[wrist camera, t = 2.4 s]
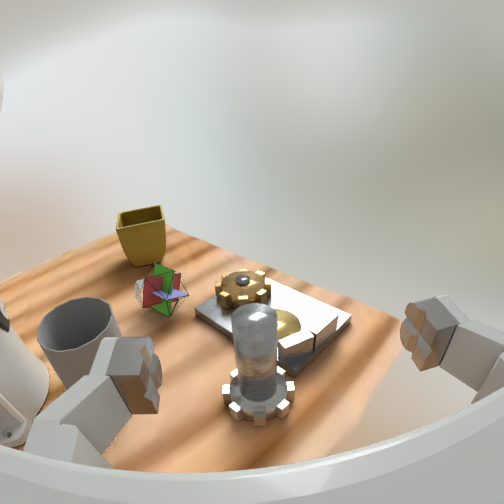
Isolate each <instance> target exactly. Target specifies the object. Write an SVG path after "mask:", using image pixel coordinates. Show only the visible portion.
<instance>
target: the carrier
mask: <svg viewBox="0 0 504 504" xmlns="http://www.w3.org/2000/svg"><path fill="white" fill-rule="evenodd" d="M265 279H268V278H266V277H265ZM265 305H268V306H270V307H272V308H273V309H274V310H275V311H276V313H277V366H278V367H280V368H282V369H283V370H285V371H286V372H285V373H287V374H288V375H290V376H292V377H293V378H295V377H296V376H297V375H298V374H300V373H301V372H302V371H303V370H304V369H305V368H306V367H307V366H308V365H309V364H310V363H311V362H312V361H313V360H314V359H315V358H316V357H317V356H318V355H319V354H320V353H321V352H322V351H323V350H324V349H325V348H326V347H327V346H328V345H329V344H330V343H331V342H332V341H333V340H334V339H335V338H336V337H337V336H338V334H339V333H340V332H341V331H342V330H343V329H344V328H345V327H346V326H347V325H348V324H349V323H350V320H351V314H348V313H346V312H344V311H341V310H339V309H337V308H334V307H332V306H330V305H328V304H325V303H323V302H321V301H318V300H316V299H314V298H311V297H309V296H307V295H304V294H302V293H300V292H298V291H295V290H293V289H291V288H288V287H286V286H284V285H282V284H279V283H277V282H275V281H273V280H271V296H267V304H265ZM236 309H237V308H234V307H229V308H228V309H226V308H224V307H222V306H221V303H220V298H219V299H217V297H216V296H214V297H213V298H211V299H209V300H208V301H206V302H204V303H202V304H201V305H199V306H197V307H195V313H196V315H197V316H198V317H200V318H201V319H203V320H204V321H205V322H207V323H208V324H210V325H211V326H213V327H214V328H216V329H217V330H219V331H220V332H222V333H223V334H225V335H226V336H228V337H229V338H231V339H232V340H233V333H232V324H231V315H232V313H233V312H234V311H235V310H236Z"/></svg>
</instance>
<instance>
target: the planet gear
mask: <svg viewBox="0 0 504 504" xmlns="http://www.w3.org/2000/svg"><path fill="white" fill-rule="evenodd" d="M231 324H232V333H233V341H234V349H235V357H236V365H237V369H235V370H234V371H233V372H231V373H230V378H231V383H230V385H223V398H224V403H225V404H230V405H229V410H230V415H231V416H232V417H233V418H234V419H236V420H237V421H238V422H239V421H240V420H241V419H242V418H245V419H248V420H251V421H254V426H266V420H269V419H272V418H274V417H276V416H277V417H279V418H280V419H283V418H284V417H285V416H286V415H287V414H288V413H289V406H290V402H288V401H290V400H294V383H293V381H292V382H286V380H285V372H286V371H285V370H283V369H282V368H280V367H278V366H277V313H276V311H275V310H274V309H273V308H272V307H270V306H268V305H265V304H260V303H251V304H246V305H243V306H240V307H239V308H237V309H236V310H235V311H234V312H233V313H232V315H231Z"/></svg>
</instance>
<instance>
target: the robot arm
mask: <svg viewBox="0 0 504 504" xmlns="http://www.w3.org/2000/svg"><path fill="white" fill-rule="evenodd" d="M2 100H3V84H2V79H1V76H0V110H1V106H2ZM405 314H406V316H407V318H406V319H405V320H404V321H403V322H402V324H401V328H400V339H401V342H402V344H403V346H404V348H405V349H406V350H408V351H410V352H412V359H413V361H414V363H415V364H416V366H417V367H418V369H419V371H424V370H427V369H430V368H433V367H437V366H440V367H441V368H442V369H444V370H445V371H447V372H448V373H450V374H451V375H453V376H454V377H456V378H458V379H459V380H461V381H462V382H463V383H465V384H466V385H468V386H470V387H471V388H473V389H474V390H475V391H477V392H478V393H477V394H476V396H475V397H474V399H473V400H472V403H471V405H469V406H467V407H465V408H463V409H461V410H459V411H457V412H455V413H453V414H451V415H449V416H446V417H444V418H442V419H440V420H437V421H435V422H433V423H430V424H428V425H425V426H423V427H420V428H418V429H415V430H413V431H410V432H407V433H405V434H402V435H399V436H396V437H393V438H390V439H387V440H384V441H382V442H378V443H375V444H372V445H368V446H365V447H361V448H358V449H354V450H351V451H347V452H343V453H339V454H335V455H331V456H326V457H322V458H317V459H313V460H308V461H302V462H297V463H291V464H285V465H279V466H272V467H265V468H257V469H247V470H237V471H224V472H203V473H160V472H140V471H127V470H117V469H114V468H113V467H112V465H111V464H110V463H109V462H108V461H107V460H106V459H105V458H104V457H103V456H102V453H103V452H104V451H105V450H106V448H107V447H108V446H109V445H110V443H111V442H112V441H113V439H114V438H115V437H116V436H117V434H118V433H119V432H120V430H121V429H122V428H123V427H124V425H125V424H126V423H127V422H128V420H129V419H130V418H131V416H132V415H131V414H158V409H159V401H160V396H159V393H158V391H157V389H158V388H159V387H160V386H161V383H162V369H161V364H160V360H159V357H158V356H157V355H155V354H154V353H153V352H154V343H153V341H152V338H151V337H149V336H147V337H105V338H103V339H102V340H101V343H100V345H99V348H98V351H97V354H96V356H95V359H94V362H93V365H92V368H91V371H90V373H89V375H84V376H83V377H82V378H81V379H80V380H78V381H77V382H76V383H75V384H74V385H73V386H71V387H70V388H69V389H68V390H67V391H65V392H64V393H63V394H62V395H61V396H60V397H58V398H57V399H56V400H55V401H54V402H52V403H51V404H50V405H49V406H48V407H47V408H45V409H44V410H43V411H42V412H41V413H40V414H38V415H37V413H38V412H39V410H40V409H41V407H42V405H43V403H44V401H45V399H46V396H47V393H48V389H49V373H48V370H47V368H46V366H45V364H44V363H43V362H42V361H41V360H40V359H39V358H38V357H37V356H35V355H34V354H33V353H32V351H31V350H30V349H29V348H28V347H27V346H26V345H25V343H24V342H23V341H22V340H21V338H20V337H19V336H18V334H17V333H16V331H15V330H14V328H13V327H12V325H11V324H10V320H9V315H8V313H7V311H6V308H5V306H4V304H3V302H2V300H1V297H0V504H504V332H502V331H499V330H497V329H495V328H492V327H490V326H488V325H485V324H483V323H481V322H478V321H476V320H470V319H469V318H468V317H467V316H466V315H465V314H464V313H463V312H462V310H461V309H460V308H459V307H458V306H457V305H456V304H455V303H454V302H453V301H452V300H451V299H450V298H449V297H448V296H446V295H444V294H443V295H439V296H435V297H432V298H428V299H425V300H420V301H415V302H410V303H409V304H408V305H407V307H406V310H405ZM36 415H37V416H36ZM35 416H36V417H35ZM33 419H34V420H33ZM32 421H33V423H32ZM31 425H32V426H31ZM25 442H26V444H25V447H24V450H23V451H19V450H16V449H13V448H12V447H16V446H19V445H22V444H24V443H25Z"/></svg>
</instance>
